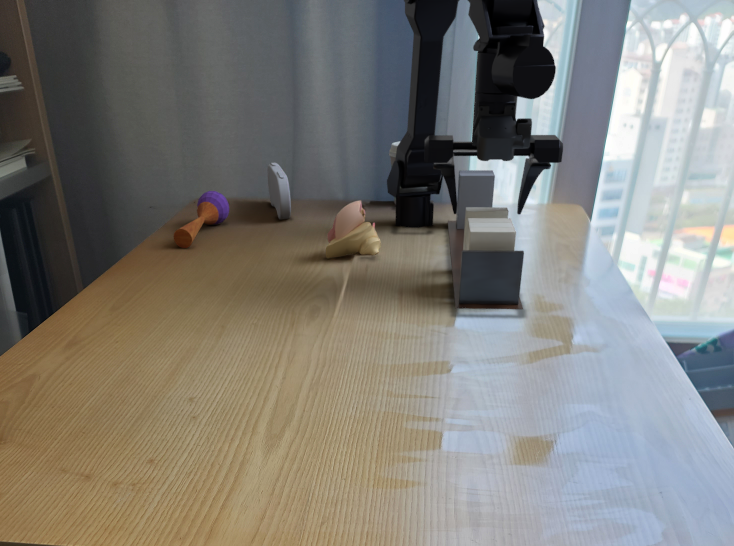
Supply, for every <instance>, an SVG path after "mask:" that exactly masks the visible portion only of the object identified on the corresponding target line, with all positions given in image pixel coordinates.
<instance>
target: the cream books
mask: <svg viewBox="0 0 734 546" xmlns="http://www.w3.org/2000/svg"><path fill="white" fill-rule="evenodd" d="M516 239H517V230H516V227H515V225H514V223H513V220H512V218H509V217H508V218H468V221H467V236H466V250H497V251H516V250H515V248H516Z"/></svg>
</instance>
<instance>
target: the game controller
mask: <svg viewBox="0 0 734 546" xmlns="http://www.w3.org/2000/svg"><path fill="white" fill-rule="evenodd" d="M289 183H290V182H289V179H288V176H287V174H286V173H285V171H284V170H283V169H282V167H281V166H280V165H279V163H277V162H270V163H269V164H268V165H267V187H268V195H269V202H270V205H271V206H272V207H274V208H275V210H276V213H277V217H278V219H279V220H289V219H290V218H291V215H292V203H291V202H292V201H291V200H292V199H291V190H290V184H289Z"/></svg>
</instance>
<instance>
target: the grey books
mask: <svg viewBox="0 0 734 546" xmlns="http://www.w3.org/2000/svg"><path fill="white" fill-rule="evenodd" d="M495 181H496V175H495V172H494V170H490V169H489V170H488V169H487V170H485V169H484V170H482V169H480V170H479V169H475V170H472V169H471V170H467V169H466V170H464V169H463V170H458V179H457V214H455V215H456V216H455V221H456V226H457V229H464V228H465V213H466V207H493V204H494V192H495V191H494V190H495Z"/></svg>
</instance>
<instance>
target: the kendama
mask: <svg viewBox="0 0 734 546" xmlns="http://www.w3.org/2000/svg"><path fill="white" fill-rule="evenodd" d="M196 206H197V208H196V213H197V218H195V219H194V220H192V221H190V222H188V223H187V224H184V225H183V226H180V227H179V228H178V229H176V230H175V231H174V232H173V236H172V237H173V241H174V243H175V245H177V246H178V247H179V248H181V249H187V248H189V247H190V246H191V245H192V244H193V242H194V240H195V238H196V237H197V235H198V233H199V231H200V230H201V228H202V226H203V224H205V225H211V226H212V225H220V224H222V223H224V221H225V220H227V218H228V216H229V215H230V214H229V213H230V205H229V201H228V199H227V198H226V197H225V195H223V193H221V192H218V191H217V190H208V191H205V192H204V193H202V194H201V196H200V197H199V198H198V199H197V203H196Z"/></svg>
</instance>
